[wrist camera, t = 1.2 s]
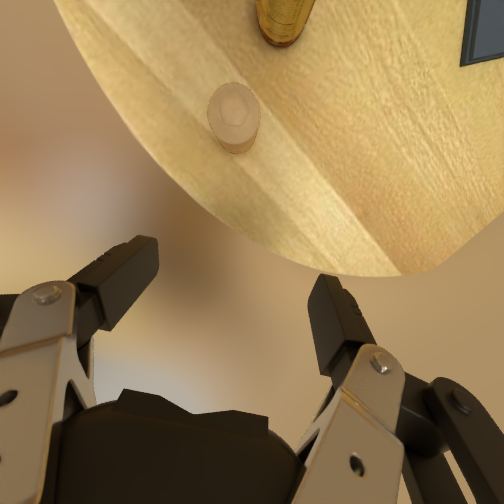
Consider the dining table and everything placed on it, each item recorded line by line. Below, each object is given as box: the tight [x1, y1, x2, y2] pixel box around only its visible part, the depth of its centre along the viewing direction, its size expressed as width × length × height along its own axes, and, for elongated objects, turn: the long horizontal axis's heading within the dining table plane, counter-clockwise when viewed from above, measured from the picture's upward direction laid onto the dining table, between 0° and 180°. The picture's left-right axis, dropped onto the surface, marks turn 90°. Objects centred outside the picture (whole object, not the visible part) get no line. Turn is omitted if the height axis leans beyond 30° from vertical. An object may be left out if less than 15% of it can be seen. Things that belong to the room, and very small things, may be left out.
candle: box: [207, 83, 260, 153], centre depth 24 cm, size 6×6×10 cm
